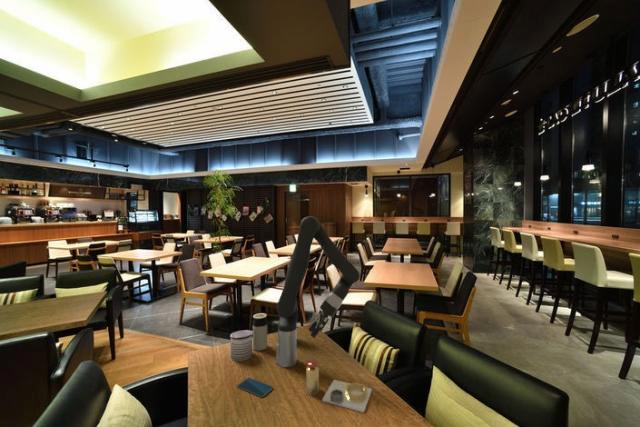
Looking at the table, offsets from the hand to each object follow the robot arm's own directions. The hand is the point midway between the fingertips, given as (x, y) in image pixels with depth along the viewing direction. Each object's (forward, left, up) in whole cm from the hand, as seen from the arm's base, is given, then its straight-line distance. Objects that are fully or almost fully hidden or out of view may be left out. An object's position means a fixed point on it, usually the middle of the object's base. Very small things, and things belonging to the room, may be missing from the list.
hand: (311, 333), depth 127 cm
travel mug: (-38, +14, -20) cm, 45 cm away
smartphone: (-19, -17, -20) cm, 32 cm away
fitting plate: (+20, -7, -19) cm, 29 cm away
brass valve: (+5, -10, -19) cm, 22 cm away
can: (-42, +3, -20) cm, 46 cm away
